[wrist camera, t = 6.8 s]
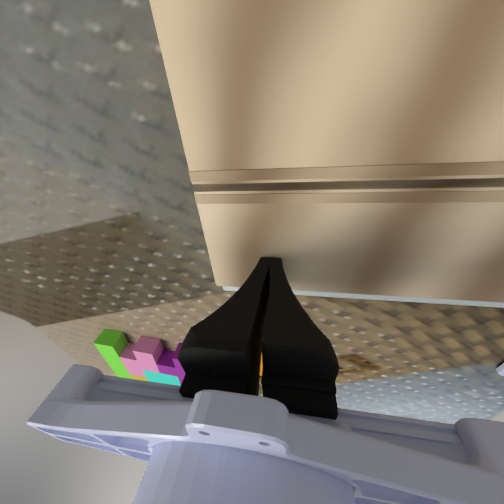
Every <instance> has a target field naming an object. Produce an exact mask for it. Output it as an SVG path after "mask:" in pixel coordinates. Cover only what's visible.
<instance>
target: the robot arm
mask: <svg viewBox="0 0 504 504" xmlns="http://www.w3.org/2000/svg"><path fill="white" fill-rule="evenodd" d="M261 353H262V363H263V370H262V380H261V384H262V389H263V397H261V396H258V390H259V377H260V365H261ZM177 357H178V360H179V362H180V364H181V366H182V368H183V370H184V372H185V376H184V379H183V381H182V384H181V386H178V385H171V384H164V383H157V382H149V381H142V380H135V379H128V378H121V377H114V376H107V375H103V373H102V372H101V371H100V370H99V369H97V368H95V367H92V366H85V365H78V364H75V365H73V366H72V367H71V368H70V369H69V371H68V372H67V373H66V374H65V375H64V377H63V378H62V379H61V380H60V382H59V383H58V384H57V385H56V386H55V388H54V389H53V390H52V391H51V393H50V394H49V395H48V396H47V397H46V399H45V400H44V401H43V402H42V404H41V405H40V406H39V407H38V409H37V410H36V411H35V412H34V413H33V415H32V416H31V417H30V418H29V419H28V421H27V425H29V426H32V427H34V428H36V429H38V430H40V431H42V432H44V433H46V434H49V435H51V436H53V437H55V438H57V439H59V440H61V441H66V442H71V443H76V444H80V445H84V446H88V447H93V448H97V449H101V450H105V451H108V452H113V453H116V454H120V455H124V456H128V457H132V458H135V459H139V460H143V461H147V462H148V465H147V467H146V470H145V472H144V475H143V477H142V480H141V483H140V485H139V488H138V491H137V493H136V496H135V498H134V501H133V503H132V504H504V423H503V422H498V421H491V420H484V419H476V418H463V419H460V420H458V421H457V422H456V423H455V425H453V424H446V423H439V422H432V421H425V420H418V419H411V418H404V417H397V416H390V415H383V414H376V413H368V412H361V411H354V410H347V409H340V408H337V402H336V395H335V394H336V386H335V380H336V377H337V375H338V372H339V364H338V361H337V357H336V354H335V352H334V349H333V347H332V345H331V342H330V340H329V339H328V338H327V337H326V336H325V335H324V334H323V333H322V332H321V331H320V330H319V329H318V327H317V326H316V325H315V324H314V323H313V321H312V320H311V319H310V317H309V316H308V315H307V313H306V312H305V311H304V309H303V308H302V306H301V305H300V303H299V302H298V300H297V298H296V296H295V295H294V293H293V291H292V289H291V287H290V285H289V282H288V280H287V277H286V275H285V272H284V268H283V264H282V259H281V258H271V257H261V258H260V259H259V261H258V263H257V265H256V266H255V268H254V270H253V271H252V273H251V274H250V275H249V277H248V278H247V280H246V281H245V282H244V283H243V285H242V286H241V287H240V288H239V289H238V291H237V292H236V293H235V294H234V295H233V296H232V297H231V298H230V299H229V300H228V301H227V302H226V303H225V304H223V305H222V306H221V307H220V308H219V309H217V310H216V311H215V312H214V313H212V314H211V315H210V316H208V317H207V318H205V319H204V320H202V321H201V322H199V323H198V324H196V325H195V326H193V327H191V329H190V330H189V332H188V334H187V335H186V337H185V339H184V341H183V343H182V346H181V348H180V350H179V353H178V356H177ZM496 371H497V373H498V374H499V375H501V376H504V363H503V364H501V365H500V366H499V367H497V368H496Z"/></svg>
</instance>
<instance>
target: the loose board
mask: <svg viewBox="0 0 504 504" xmlns="http://www.w3.org/2000/svg"><path fill="white" fill-rule="evenodd" d="M194 194H195V195H194V196H195V200H196V204H197V206H198V210H199V215H200V219H201V223H202V227H203V231H204V236H205V240H206V244H207V248H208V253H209V257H210V261H211V265H212V269H213V274H214V278H215V282H216V286H230V287H241V286H242V285H243V283H244V282H245V281H246V280H247V278H248V277H249V275H250V274H251V273H252V271H253V270H254V268H255V266H256V265H257V263H258V261H259V259H260V258H261V257H271V258H281V259H282V264H283V268H284V272H285V275H286V277H287V280H288V282H289V285H290V287H291V289H292V290H298V291H315V292H332V293H349V294H366V295H383V296H400V297H417V298H434V299H451V300H468V301H485V302H502V303H504V178H477V179H429V180H382V181H334V182H287V183H239V184H201V185H200V186H199V187H198V188H197V189H196V190H195V191H194Z"/></svg>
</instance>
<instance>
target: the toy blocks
mask: <svg viewBox="0 0 504 504" xmlns="http://www.w3.org/2000/svg"><path fill="white" fill-rule="evenodd" d="M94 345H95V346H96V347H97V349H98V350H99V352H100V353H101V354H102V356H103V357H104V359H105V360H106V361H107V363H108V364H109V366H110V367H111V368H112V370H113V371H114V373H115V374H116V375H117V377H121V378H128V379H135V380H142V381H149V382H157V383H164V384H171V385H178V386H181V384H182V381H183V379H184V376H185V372H184V370H183V368H182V366H181V364H180V362H179V360H178V357H177V356H178V353H179V350H180V348H181V346H182V343H179V344H178V347H177V349H176V351H169V350H164V349H163V346H162V343H161V340H160V339H156V338H151V337H146V336H141V337H140V339H139V340H138V342H137V344H132V343H128V341H127V339H126V337H125V335H124V333H123V332H119V331H113V330H108V329H104V330H103V332H102V333H101V334H100V335H99V337H98V338H97V339H96V340H95V342H94ZM262 370H263V363H262V353H261V365H260V375H261V376H262Z"/></svg>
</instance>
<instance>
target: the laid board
mask: <svg viewBox="0 0 504 504" xmlns="http://www.w3.org/2000/svg"><path fill="white" fill-rule="evenodd" d="M149 1H150V5H151V9H152V14H153V18H154V22H155V26H156V31H157V35H158V39H159V43H160V48H161V52H162V56H163V61H164V65H165V69H166V73H167V78H168V82H169V86H170V90H171V95H172V99H173V103H174V108H175V112H176V116H177V120H178V125H179V129H180V133H181V137H182V142H183V146H184V150H185V155H186V159H187V163H188V167H189V175H190V179H191V182H192V184H226V183H273V182H320V181H367V180H414V179H461V178H504V0H149Z"/></svg>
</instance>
